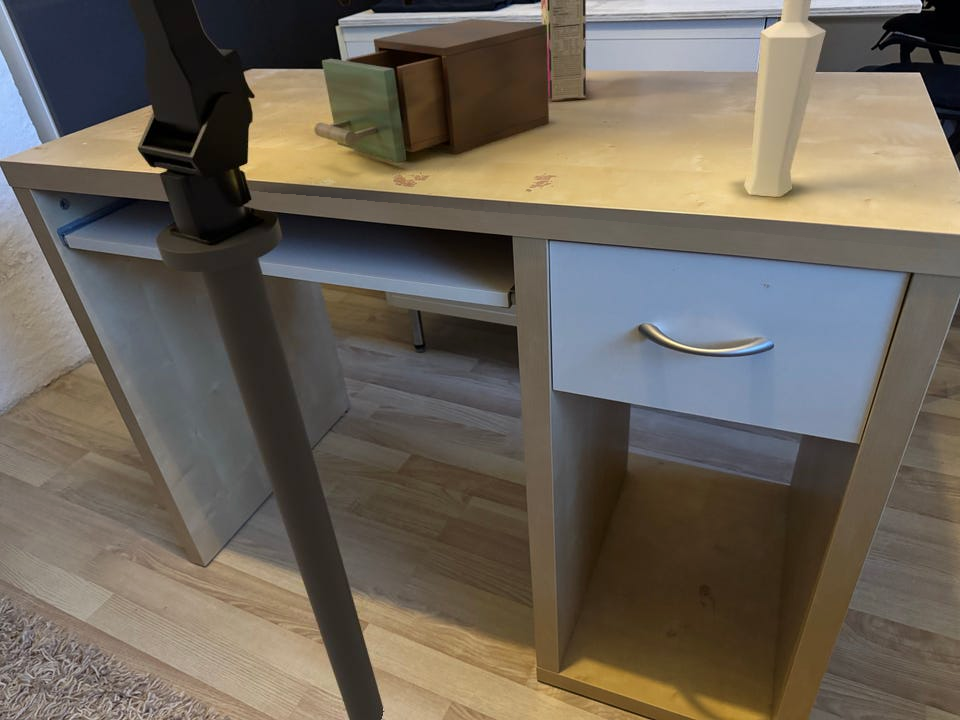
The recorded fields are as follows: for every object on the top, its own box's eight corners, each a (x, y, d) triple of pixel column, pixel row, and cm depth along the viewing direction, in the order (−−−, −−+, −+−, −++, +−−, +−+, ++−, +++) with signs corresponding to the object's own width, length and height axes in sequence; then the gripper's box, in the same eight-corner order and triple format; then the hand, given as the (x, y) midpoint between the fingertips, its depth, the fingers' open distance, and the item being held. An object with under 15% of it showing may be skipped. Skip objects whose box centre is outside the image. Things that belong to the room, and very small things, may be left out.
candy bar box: (541, 84, 98) (538, -49, 89) (576, 81, 98) (576, -52, 89) (548, 102, 89) (545, -43, 80) (586, 99, 89) (588, -47, 80)
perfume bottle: (752, 176, 61) (780, -13, 53) (801, 185, 59) (839, -13, 50) (727, 191, 59) (752, -5, 50) (778, 201, 56) (813, -4, 48)
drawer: (365, 173, 68) (349, 79, 63) (307, 153, 75) (288, 67, 70) (494, 131, 77) (488, 45, 72) (430, 116, 84) (422, 38, 79)
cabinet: (455, 154, 73) (445, 47, 68) (387, 136, 82) (373, 39, 76) (549, 122, 81) (547, 24, 75) (478, 108, 89) (471, 18, 83)
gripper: (469, -197, 65) (488, -13, 74) (331, -171, 75) (364, -11, 84) (393, -190, 58) (425, 12, 67) (253, -162, 68) (297, 11, 77)
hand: (376, 4), depth 74 cm, fingers open, 9 cm apart
